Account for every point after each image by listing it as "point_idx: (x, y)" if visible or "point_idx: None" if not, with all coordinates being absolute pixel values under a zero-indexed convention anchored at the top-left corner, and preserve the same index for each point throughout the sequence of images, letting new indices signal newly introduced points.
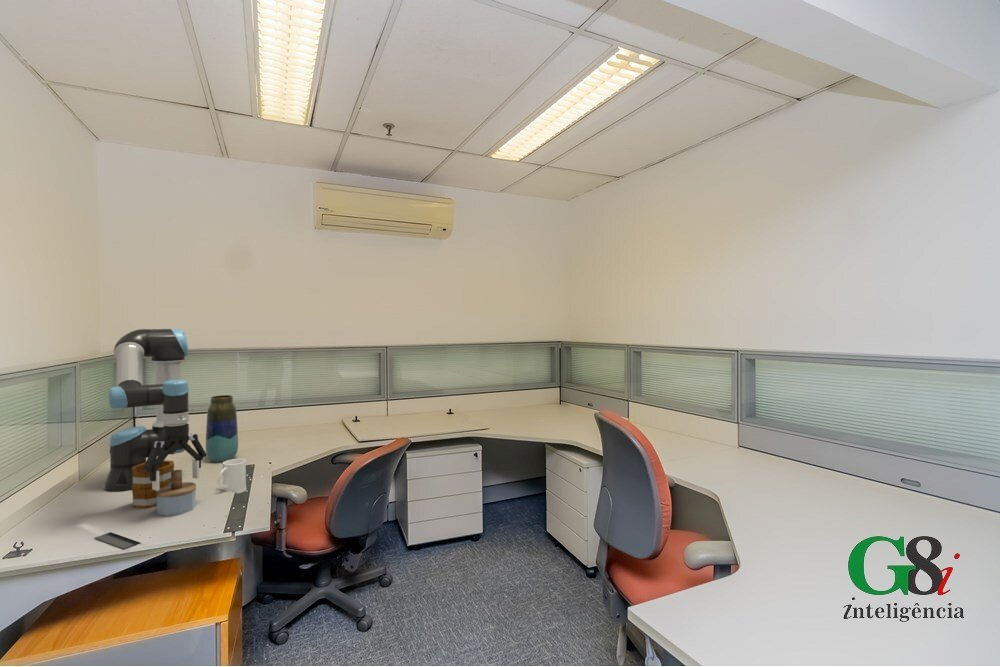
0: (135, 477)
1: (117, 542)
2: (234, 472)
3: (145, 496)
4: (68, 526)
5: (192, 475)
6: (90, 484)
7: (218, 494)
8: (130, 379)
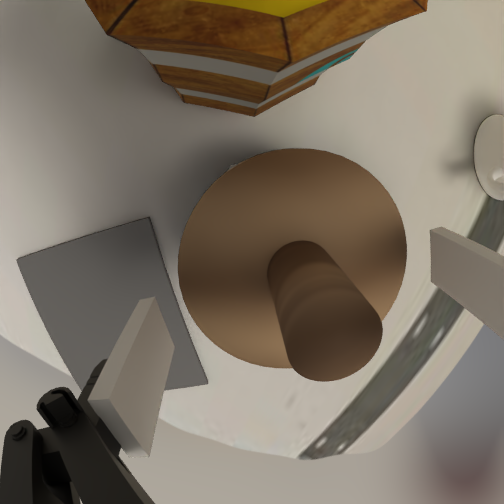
0: None
1: (68, 351)
2: None
3: (169, 84)
4: None
5: (439, 234)
6: None
7: (463, 137)
8: None
